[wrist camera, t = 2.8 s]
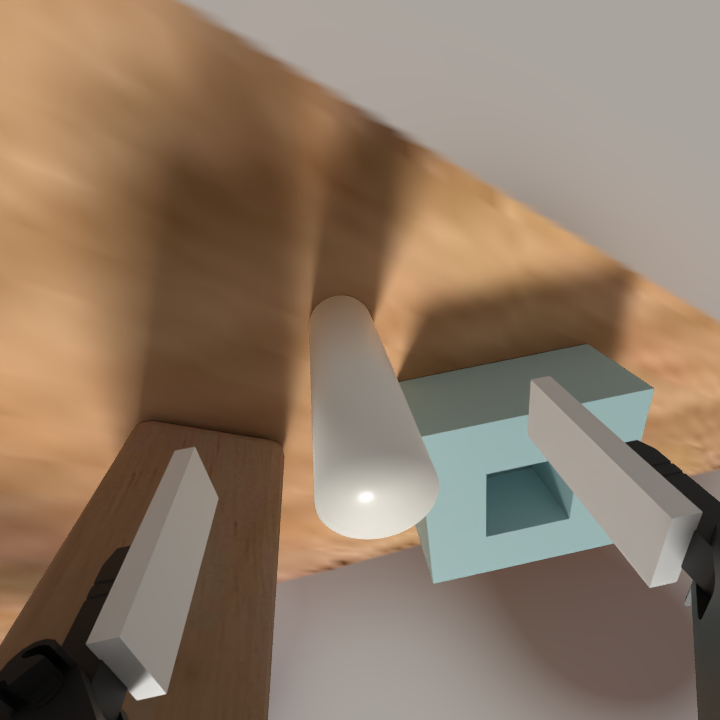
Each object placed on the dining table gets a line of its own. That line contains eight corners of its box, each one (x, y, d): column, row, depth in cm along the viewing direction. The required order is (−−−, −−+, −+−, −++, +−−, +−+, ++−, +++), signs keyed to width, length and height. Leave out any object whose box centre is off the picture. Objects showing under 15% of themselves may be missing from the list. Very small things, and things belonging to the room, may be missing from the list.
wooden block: (288, 437, 28) (262, 904, 11) (260, 530, 32) (209, 979, 15) (137, 411, 26) (-221, 971, 8) (128, 517, 30) (-123, 1038, 12)
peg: (302, 302, 24) (301, 462, 11) (367, 289, 24) (435, 435, 11) (316, 359, 25) (327, 549, 13) (375, 347, 26) (442, 524, 13)
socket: (395, 382, 27) (417, 437, 22) (587, 343, 28) (654, 388, 22) (413, 516, 34) (433, 583, 29) (567, 483, 34) (614, 543, 29)
